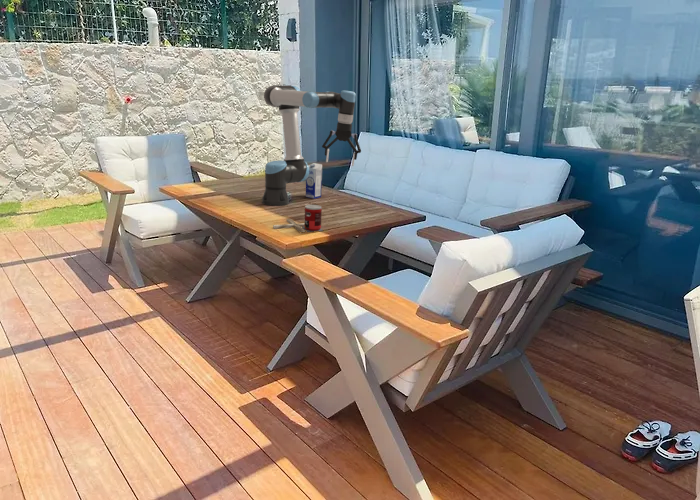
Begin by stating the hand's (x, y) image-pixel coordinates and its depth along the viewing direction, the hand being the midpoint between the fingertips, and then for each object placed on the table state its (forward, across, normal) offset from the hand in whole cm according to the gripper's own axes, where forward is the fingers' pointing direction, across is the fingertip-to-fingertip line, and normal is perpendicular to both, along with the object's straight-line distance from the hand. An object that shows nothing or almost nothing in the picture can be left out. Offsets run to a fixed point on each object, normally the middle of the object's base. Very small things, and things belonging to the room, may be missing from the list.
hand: (339, 163), depth 282 cm
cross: (+28, -16, -29) cm, 43 cm away
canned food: (+27, -7, -32) cm, 43 cm away
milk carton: (+30, -16, +38) cm, 51 cm away
